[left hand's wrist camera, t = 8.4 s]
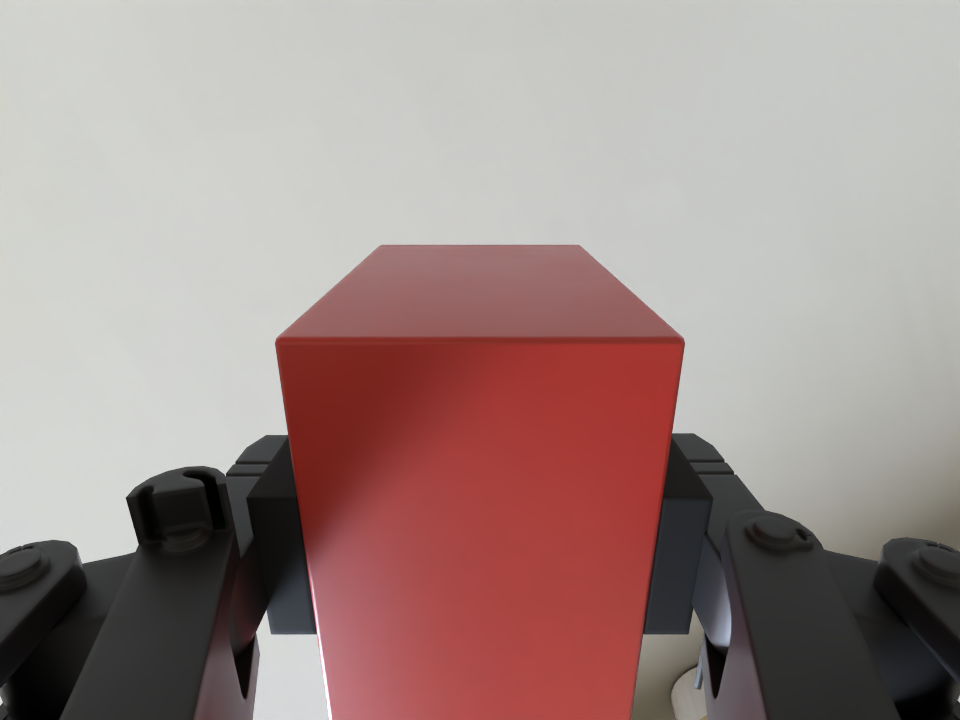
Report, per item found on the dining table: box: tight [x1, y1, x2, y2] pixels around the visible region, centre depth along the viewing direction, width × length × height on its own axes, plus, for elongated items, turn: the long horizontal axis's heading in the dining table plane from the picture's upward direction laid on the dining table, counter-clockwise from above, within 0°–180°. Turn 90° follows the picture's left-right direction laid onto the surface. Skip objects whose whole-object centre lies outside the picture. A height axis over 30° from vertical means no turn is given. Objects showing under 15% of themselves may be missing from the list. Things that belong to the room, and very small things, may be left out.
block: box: [275, 245, 685, 720], centre depth 12 cm, size 6×8×8 cm
